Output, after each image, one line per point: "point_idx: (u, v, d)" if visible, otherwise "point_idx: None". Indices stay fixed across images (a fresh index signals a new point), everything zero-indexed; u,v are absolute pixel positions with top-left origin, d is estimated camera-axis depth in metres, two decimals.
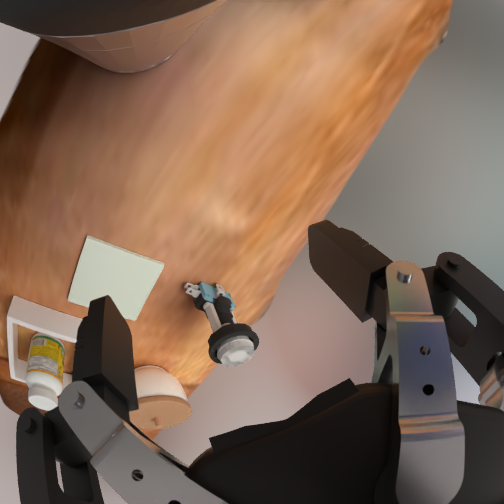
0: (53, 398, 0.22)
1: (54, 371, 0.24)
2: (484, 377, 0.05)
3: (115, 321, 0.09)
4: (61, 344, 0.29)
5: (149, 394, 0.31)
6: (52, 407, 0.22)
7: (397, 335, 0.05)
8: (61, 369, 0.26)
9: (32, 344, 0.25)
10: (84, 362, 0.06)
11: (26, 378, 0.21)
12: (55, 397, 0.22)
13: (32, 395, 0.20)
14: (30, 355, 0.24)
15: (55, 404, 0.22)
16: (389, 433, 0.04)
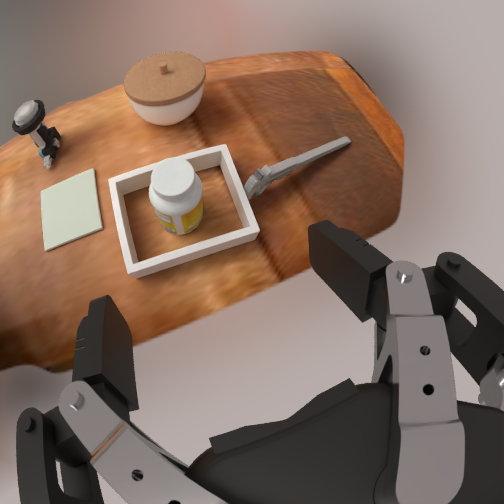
0: None
1: None
2: (484, 377, 0.05)
3: (115, 321, 0.09)
4: None
5: (132, 101, 0.28)
6: (173, 162, 0.23)
7: (397, 335, 0.05)
8: None
9: (172, 229, 0.30)
10: (84, 362, 0.06)
11: (173, 212, 0.25)
12: None
13: (160, 193, 0.23)
14: (171, 224, 0.28)
15: (160, 162, 0.23)
16: (389, 433, 0.04)
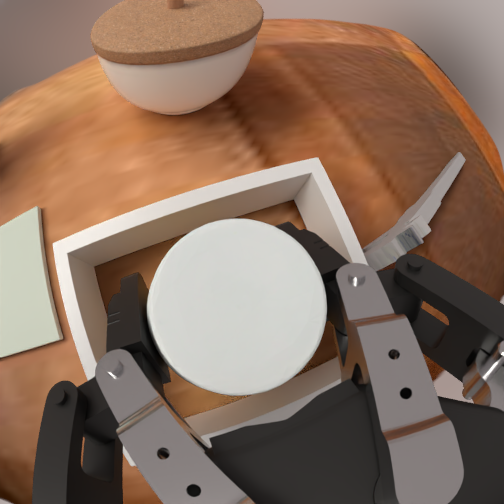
0: None
1: None
2: (466, 375, 0.05)
3: (146, 297, 0.09)
4: None
5: (105, 60, 0.11)
6: (235, 243, 0.06)
7: (361, 344, 0.05)
8: None
9: None
10: (121, 333, 0.07)
11: None
12: None
13: (200, 387, 0.05)
14: None
15: (181, 244, 0.06)
16: (374, 442, 0.04)
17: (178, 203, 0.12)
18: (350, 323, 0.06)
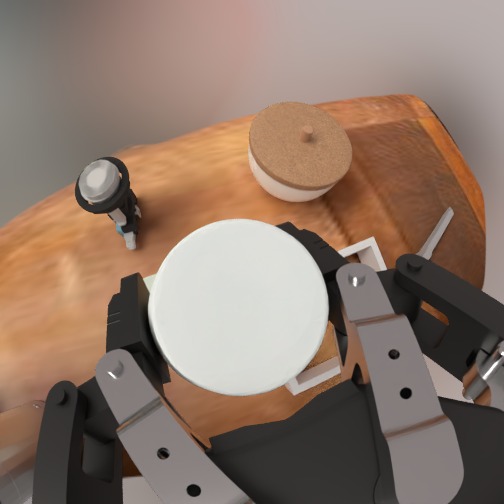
0: None
1: None
2: (466, 375, 0.05)
3: (146, 297, 0.09)
4: None
5: (269, 176, 0.25)
6: (236, 243, 0.06)
7: (361, 344, 0.05)
8: None
9: None
10: (121, 333, 0.07)
11: None
12: None
13: (202, 387, 0.05)
14: None
15: (183, 245, 0.06)
16: (374, 442, 0.04)
17: None
18: (350, 323, 0.06)
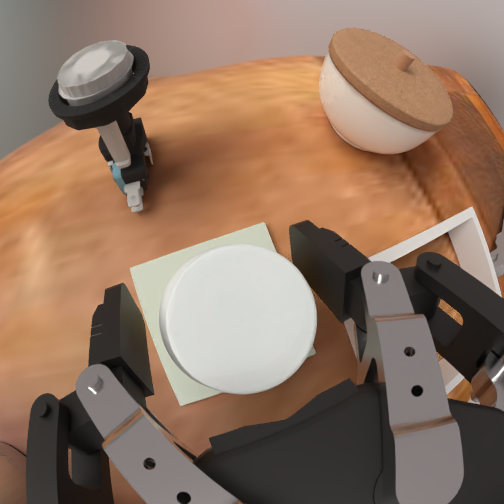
0: None
1: None
2: (475, 375, 0.05)
3: (130, 308, 0.09)
4: None
5: (367, 102, 0.14)
6: (238, 266, 0.07)
7: (379, 339, 0.05)
8: None
9: None
10: (102, 346, 0.07)
11: None
12: None
13: (210, 387, 0.06)
14: None
15: (192, 267, 0.07)
16: (381, 437, 0.04)
17: (427, 236, 0.16)
18: (370, 318, 0.06)
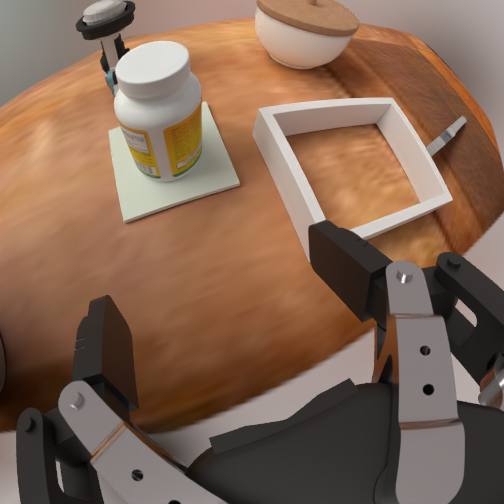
0: None
1: None
2: (484, 377, 0.05)
3: (115, 321, 0.09)
4: None
5: (277, 22, 0.18)
6: (154, 46, 0.11)
7: (397, 335, 0.05)
8: None
9: (153, 169, 0.17)
10: (84, 362, 0.06)
11: (150, 122, 0.13)
12: None
13: (127, 82, 0.10)
14: (148, 155, 0.16)
15: (134, 49, 0.11)
16: (389, 433, 0.04)
17: (335, 103, 0.20)
18: (391, 315, 0.06)
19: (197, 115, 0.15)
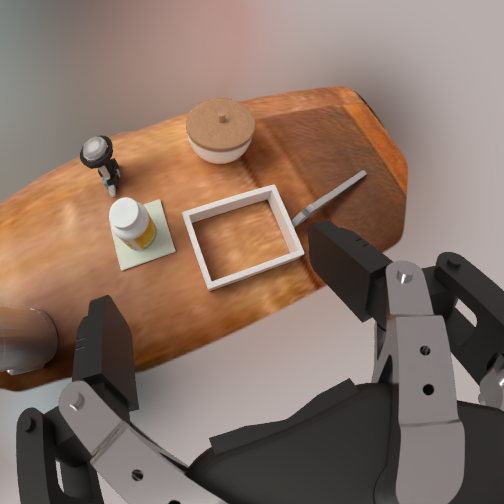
0: None
1: None
2: (484, 377, 0.05)
3: (115, 321, 0.09)
4: None
5: (196, 145, 0.38)
6: (124, 201, 0.31)
7: (397, 335, 0.05)
8: None
9: (132, 248, 0.38)
10: (84, 362, 0.06)
11: (127, 237, 0.33)
12: None
13: (115, 225, 0.31)
14: (129, 244, 0.36)
15: (115, 202, 0.31)
16: (389, 433, 0.04)
17: (228, 200, 0.40)
18: (391, 315, 0.06)
19: (148, 228, 0.35)
